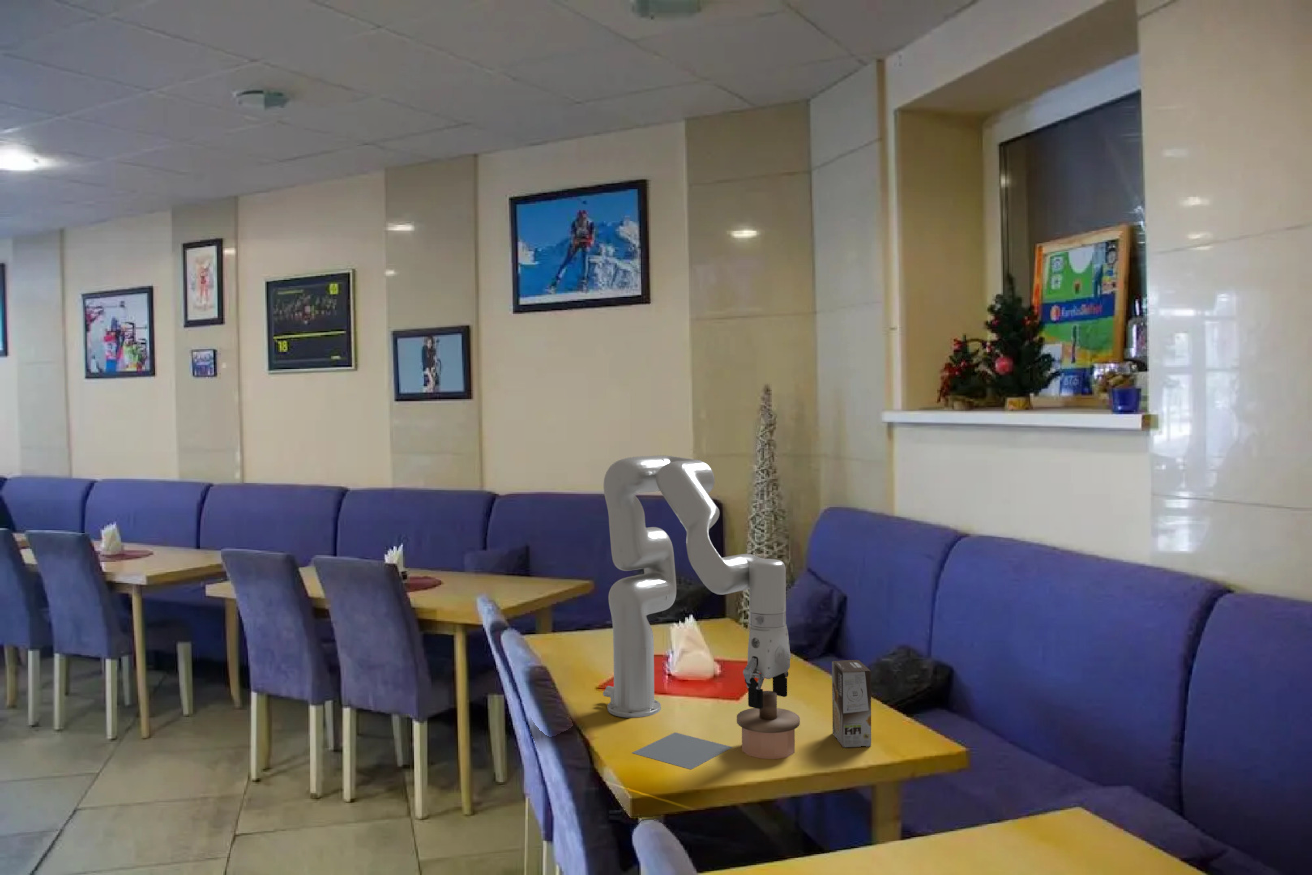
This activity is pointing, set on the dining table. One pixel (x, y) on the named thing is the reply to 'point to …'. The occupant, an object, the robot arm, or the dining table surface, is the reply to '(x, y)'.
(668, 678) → the dining table surface
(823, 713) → the dining table surface
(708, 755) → the mat
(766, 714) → the lid
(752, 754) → the bowl
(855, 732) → the coffee box
